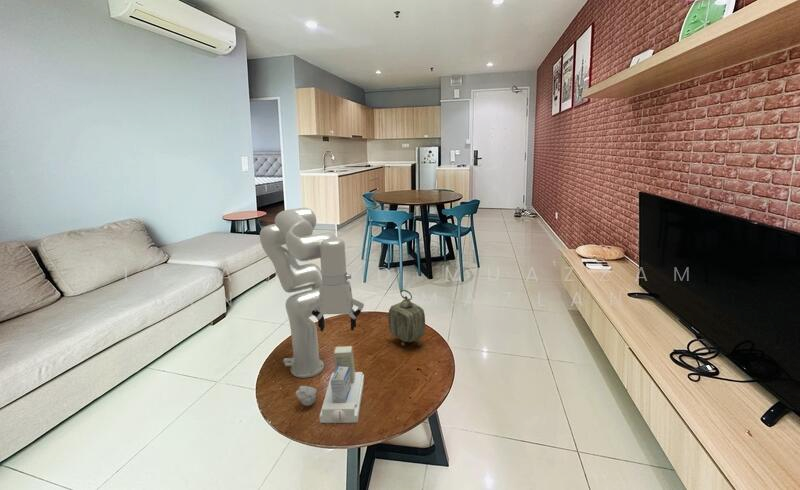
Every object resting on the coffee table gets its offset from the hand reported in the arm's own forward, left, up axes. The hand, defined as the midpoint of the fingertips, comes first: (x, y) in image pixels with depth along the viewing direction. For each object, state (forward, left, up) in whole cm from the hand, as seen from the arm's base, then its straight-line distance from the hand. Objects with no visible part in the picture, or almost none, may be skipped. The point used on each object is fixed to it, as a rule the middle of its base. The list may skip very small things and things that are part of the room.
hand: (337, 328), depth 122 cm
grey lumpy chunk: (-12, +1, -28) cm, 31 cm away
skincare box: (0, +9, -25) cm, 27 cm away
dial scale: (0, +3, -28) cm, 28 cm away
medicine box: (0, 0, -25) cm, 25 cm away
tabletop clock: (+22, +40, -28) cm, 53 cm away
